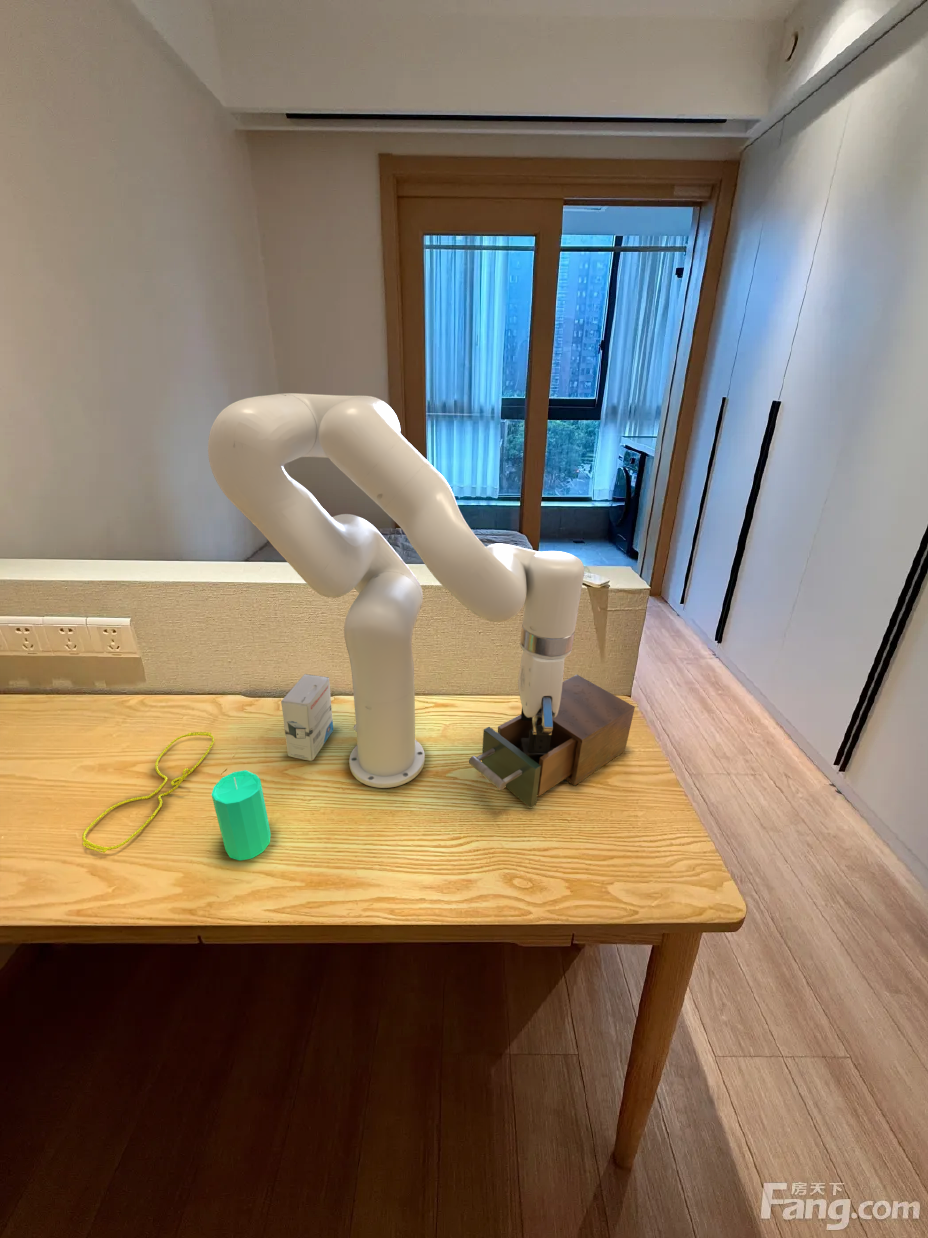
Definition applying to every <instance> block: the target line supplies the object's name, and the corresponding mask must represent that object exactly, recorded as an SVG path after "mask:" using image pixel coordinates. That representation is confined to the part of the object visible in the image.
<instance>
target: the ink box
mask: <svg viewBox="0 0 928 1238" xmlns="http://www.w3.org/2000/svg"><path fill="white" fill-rule="evenodd" d="M280 705H281V710H282V711H281V713H282V718H283V728H284V735H285V742H286V743H285V744H286V749H287V750H286V751H287V756H288V757H291V758H294V759H299V760H305V761H310V762H312V761H314V760H315V758H316V757H317V756H318V754H319V753H320V751H321V749H322V748H323V747H324V745H325V744H326V742H327V740H328V739H329V738H330V736H331V735H332V733H333V732H334V720H333V709H332V708H333V707H332V696H331V683H330V677H329V676H323V675H315V674H308V673H304V674H303V675H302V677H300V679H298V681H297V682H296V683H295V684H294V686H293V687H292V688H291V689H290V690H289V691H288V692H287V694H285V696H284V697H283V698H282V700H280Z"/></svg>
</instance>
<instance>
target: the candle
mask: <svg viewBox="0 0 928 1238" xmlns="http://www.w3.org/2000/svg"><path fill="white" fill-rule="evenodd" d="M262 785H263V784H262V781H261V778H260V777H259V775H257V774H256V773H254V772H251V771H249V770H246V769H244V770H238V771H233V772H231V773H229V774H227V775H225V776H223V777H221V778H220V779H219V781H218V782H216V784H215V785H214V786H213V788H212V792H211V799H212V802H213V806H214V810H215V811H214V812H215V815H216V818H217V823H218V827H219V830H220V835H221V838H222V843H223V846H224V850H225V852H226V853H227V855H228V857H229V858H230V859H232V860H236V861H239V862H240V861H246V860H253V859H254V858H255V857H257V856H259V855H261V854H262V853H264V852H265V850H266V849H267V848H268V846H269V845H270V844H271V837H272V832H271V828H270V822H269V817H268V812H267V806H266V801H265V797H264V791H263V786H262Z"/></svg>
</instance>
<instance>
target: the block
mask: <svg viewBox="0 0 928 1238" xmlns="http://www.w3.org/2000/svg"><path fill="white" fill-rule="evenodd" d="M528 740H529V738H521V742H520V750H521V751H522V752H523V753H525V754H526V755H527V756H529V757H530V758H531V759H532V760H534V761H535V762H536V763H538V764H539V759H540V757H542V756H543V755H545V754H546V753H529V752H528V750H527V748H528Z"/></svg>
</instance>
